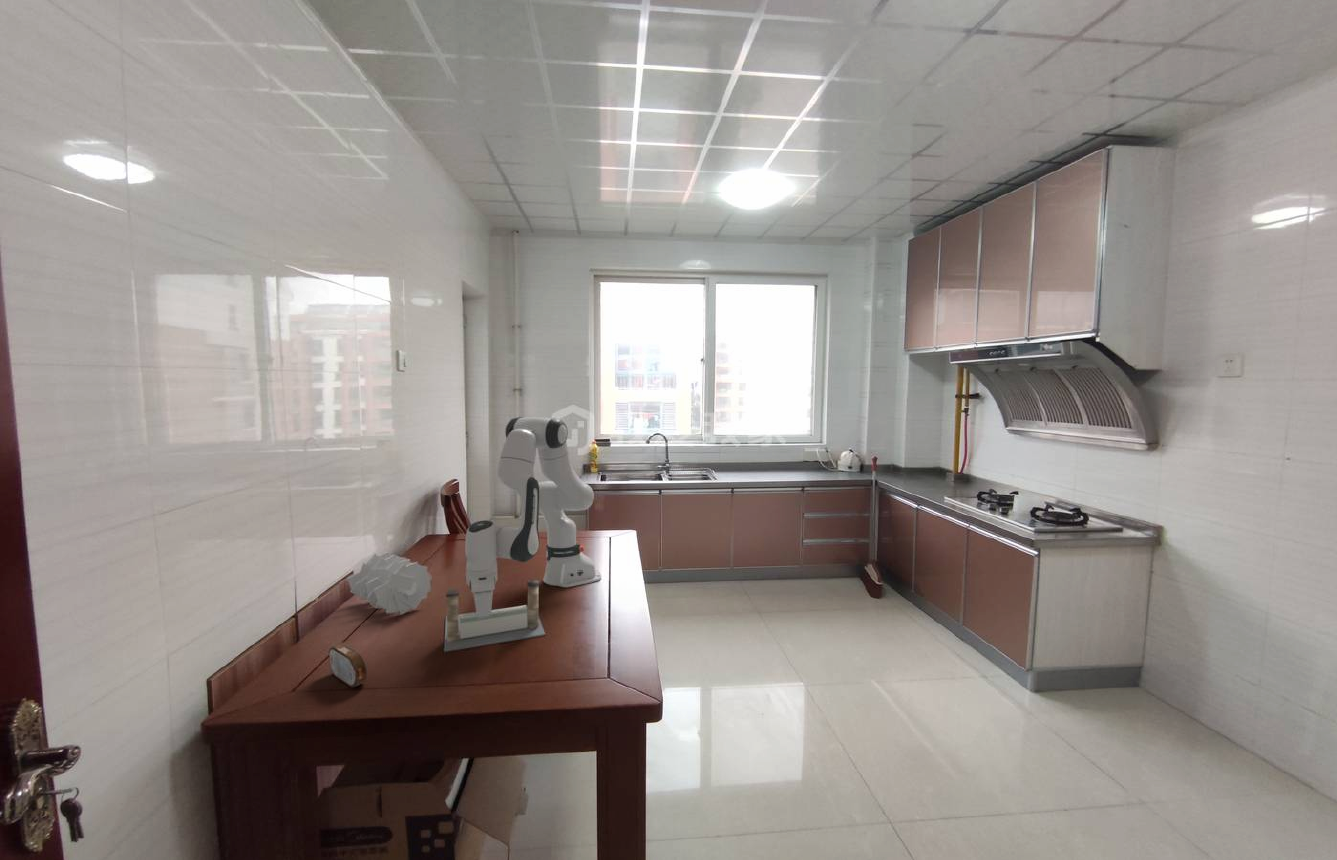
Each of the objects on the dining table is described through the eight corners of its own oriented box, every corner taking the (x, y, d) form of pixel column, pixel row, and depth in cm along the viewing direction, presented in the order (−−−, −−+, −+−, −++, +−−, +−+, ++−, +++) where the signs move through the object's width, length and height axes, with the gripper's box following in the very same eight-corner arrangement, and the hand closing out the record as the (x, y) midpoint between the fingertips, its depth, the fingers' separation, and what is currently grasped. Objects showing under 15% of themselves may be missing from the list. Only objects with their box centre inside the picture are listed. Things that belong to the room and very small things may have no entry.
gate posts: (538, 625, 161) (538, 579, 160) (539, 630, 158) (539, 583, 157) (446, 639, 151) (446, 590, 150) (446, 644, 148) (445, 594, 147)
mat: (534, 605, 176) (534, 604, 176) (545, 635, 154) (545, 633, 154) (445, 617, 166) (445, 616, 166) (444, 651, 144) (444, 650, 143)
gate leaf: (526, 625, 159) (526, 605, 158) (527, 627, 157) (526, 607, 157) (460, 636, 151) (460, 615, 150) (460, 639, 149) (460, 617, 149)
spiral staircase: (385, 606, 184) (425, 620, 170) (336, 599, 170) (375, 613, 157) (405, 555, 190) (445, 564, 176) (359, 545, 177) (398, 554, 163)
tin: (368, 687, 126) (367, 654, 125) (354, 693, 123) (354, 659, 122) (340, 669, 134) (339, 637, 134) (326, 674, 131) (326, 642, 131)
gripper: (470, 566, 162) (471, 608, 163) (471, 589, 143) (472, 637, 144) (491, 563, 164) (492, 605, 165) (495, 586, 145) (496, 633, 147)
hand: (483, 620), depth 155 cm, fingers closed
